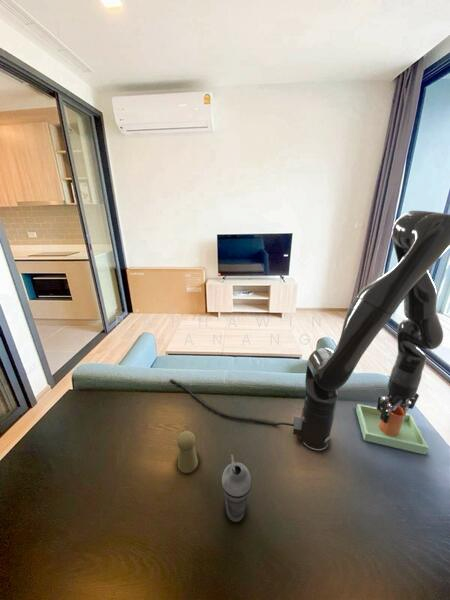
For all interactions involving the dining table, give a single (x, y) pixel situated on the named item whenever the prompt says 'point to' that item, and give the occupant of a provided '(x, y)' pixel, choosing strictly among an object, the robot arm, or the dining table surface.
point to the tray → (371, 432)
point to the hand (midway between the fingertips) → (391, 419)
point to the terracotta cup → (393, 422)
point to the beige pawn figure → (187, 452)
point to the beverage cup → (236, 489)
